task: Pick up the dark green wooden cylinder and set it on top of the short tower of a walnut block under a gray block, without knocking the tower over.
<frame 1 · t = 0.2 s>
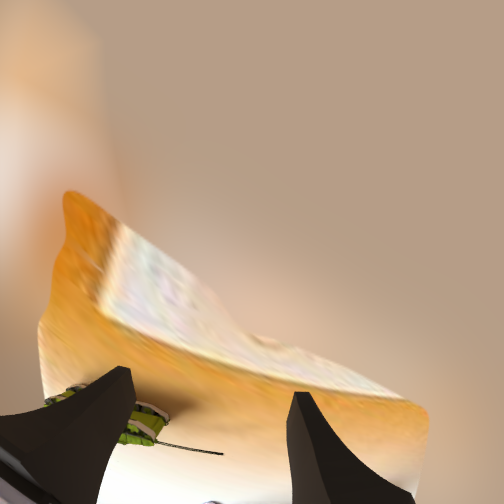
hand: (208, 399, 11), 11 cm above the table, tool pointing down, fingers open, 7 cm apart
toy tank: (143, 418, 23), on the table
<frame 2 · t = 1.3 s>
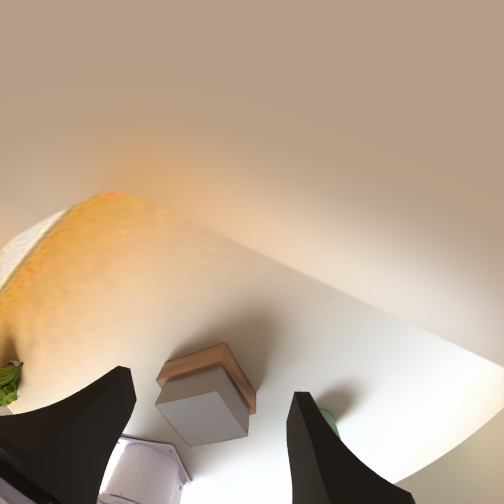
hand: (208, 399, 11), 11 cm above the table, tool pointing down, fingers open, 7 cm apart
walnut block: (210, 377, 23), on the table, touching gray block
green cylinder: (311, 423, 24), on the table
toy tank: (23, 377, 24), on the table
gray block: (207, 397, 20), point 3 cm above the table, touching walnut block
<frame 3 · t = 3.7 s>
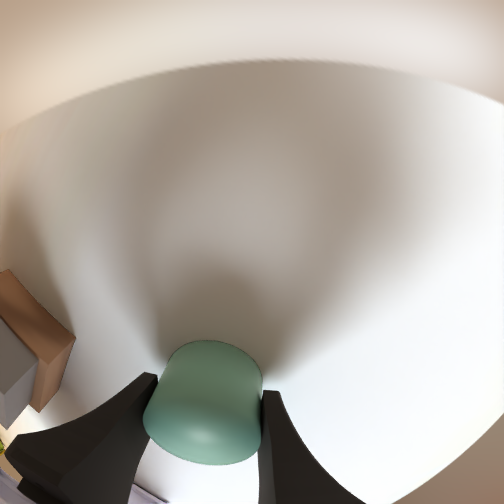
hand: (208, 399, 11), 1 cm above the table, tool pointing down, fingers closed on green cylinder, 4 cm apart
walnut block: (34, 332, 13), on the table, touching gray block
green cylinder: (213, 379, 12), on the table, touching gripper
gray block: (4, 351, 10), point 3 cm above the table, touching walnut block
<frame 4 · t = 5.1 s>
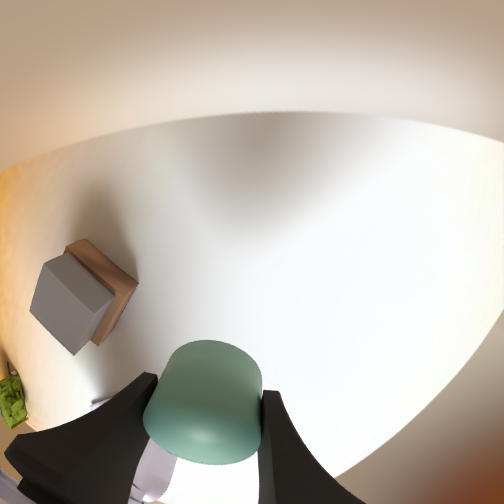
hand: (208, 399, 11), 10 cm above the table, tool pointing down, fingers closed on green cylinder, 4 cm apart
walnut block: (99, 285, 21), on the table, touching gray block
green cylinder: (213, 379, 12), point 9 cm above the table, touching gripper
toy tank: (25, 387, 27), on the table
gray block: (79, 296, 18), point 3 cm above the table, touching walnut block
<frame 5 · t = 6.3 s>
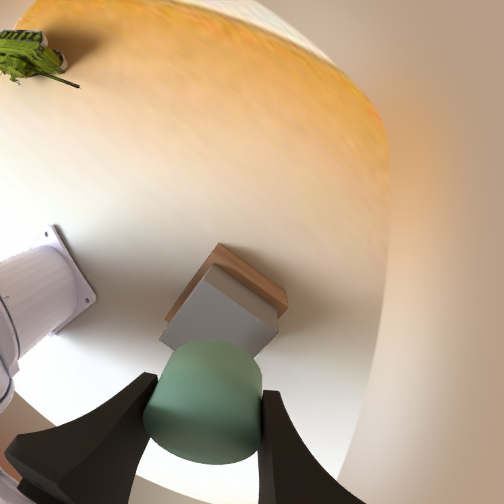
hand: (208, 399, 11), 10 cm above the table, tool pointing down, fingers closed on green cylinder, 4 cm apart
walnut block: (229, 296, 21), on the table, touching gray block
green cylinder: (213, 378, 12), point 9 cm above the table, touching gripper
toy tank: (45, 77, 17), on the table
gray block: (222, 313, 18), point 3 cm above the table, touching walnut block
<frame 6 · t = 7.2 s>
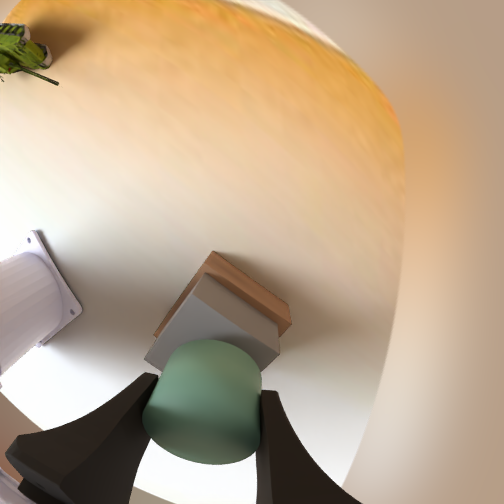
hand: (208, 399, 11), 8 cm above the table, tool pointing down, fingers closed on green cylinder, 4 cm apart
walnut block: (225, 309, 19), on the table, touching gray block
green cylinder: (213, 378, 12), point 7 cm above the table, touching gripper
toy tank: (30, 73, 14), on the table
gray block: (216, 329, 16), point 3 cm above the table, touching walnut block
when the fingers open (8 cm above the table, at t = 7.4 s): green cylinder stays where it is, resting on gray block.
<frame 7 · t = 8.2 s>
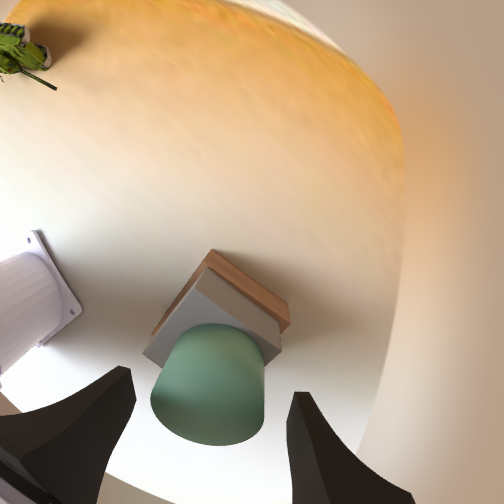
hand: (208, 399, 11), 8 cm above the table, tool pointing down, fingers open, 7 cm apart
walnut block: (223, 308, 19), on the table, touching gray block
green cylinder: (217, 362, 13), point 6 cm above the table, touching gray block
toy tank: (30, 74, 14), on the table
gray block: (216, 325, 16), point 3 cm above the table, touching green cylinder, walnut block
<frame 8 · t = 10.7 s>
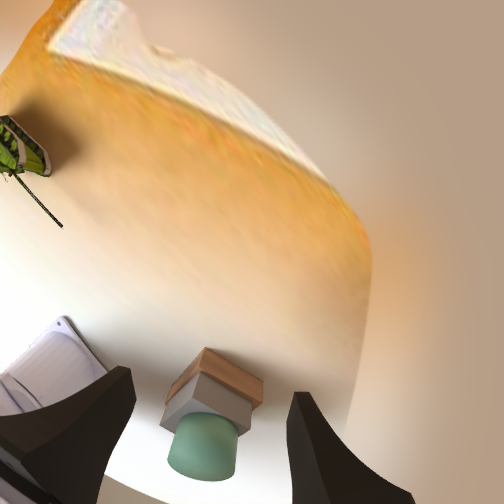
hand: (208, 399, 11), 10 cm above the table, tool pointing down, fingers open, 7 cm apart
walnut block: (216, 382, 23), on the table, touching gray block
green cylinder: (207, 430, 17), point 6 cm above the table, touching gray block
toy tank: (31, 169, 19), on the table
gray block: (209, 402, 20), point 3 cm above the table, touching green cylinder, walnut block
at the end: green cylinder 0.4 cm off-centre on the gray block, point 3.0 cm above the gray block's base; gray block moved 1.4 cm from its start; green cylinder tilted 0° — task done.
